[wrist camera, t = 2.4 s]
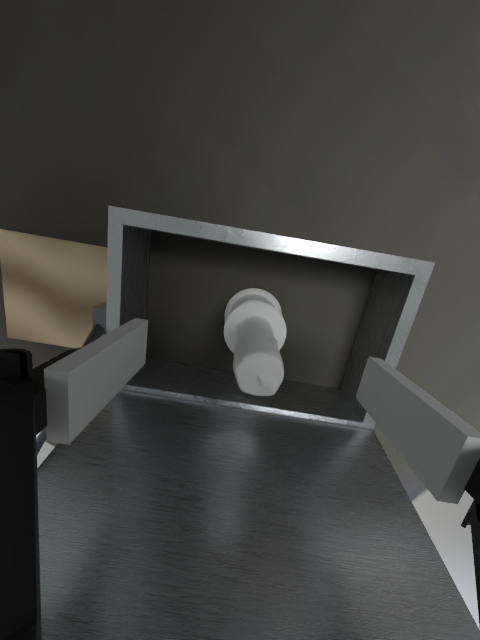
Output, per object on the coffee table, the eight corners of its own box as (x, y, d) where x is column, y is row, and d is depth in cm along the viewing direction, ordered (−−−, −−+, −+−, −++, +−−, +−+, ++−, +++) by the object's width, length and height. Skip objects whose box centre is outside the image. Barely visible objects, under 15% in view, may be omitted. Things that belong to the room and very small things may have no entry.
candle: (292, 323, 23) (339, 395, 11) (245, 353, 24) (245, 447, 12) (261, 276, 22) (278, 302, 10) (213, 309, 23) (179, 367, 11)
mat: (1, 229, 21) (-3, 228, 21) (115, 248, 21) (113, 248, 21) (11, 335, 24) (7, 337, 24) (113, 352, 24) (110, 354, 24)
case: (128, 214, 21) (-729, -68, 2) (392, 260, 21) (1286, 306, 3) (121, 388, 25) (-202, 741, 7) (339, 423, 26) (565, 838, 7)
